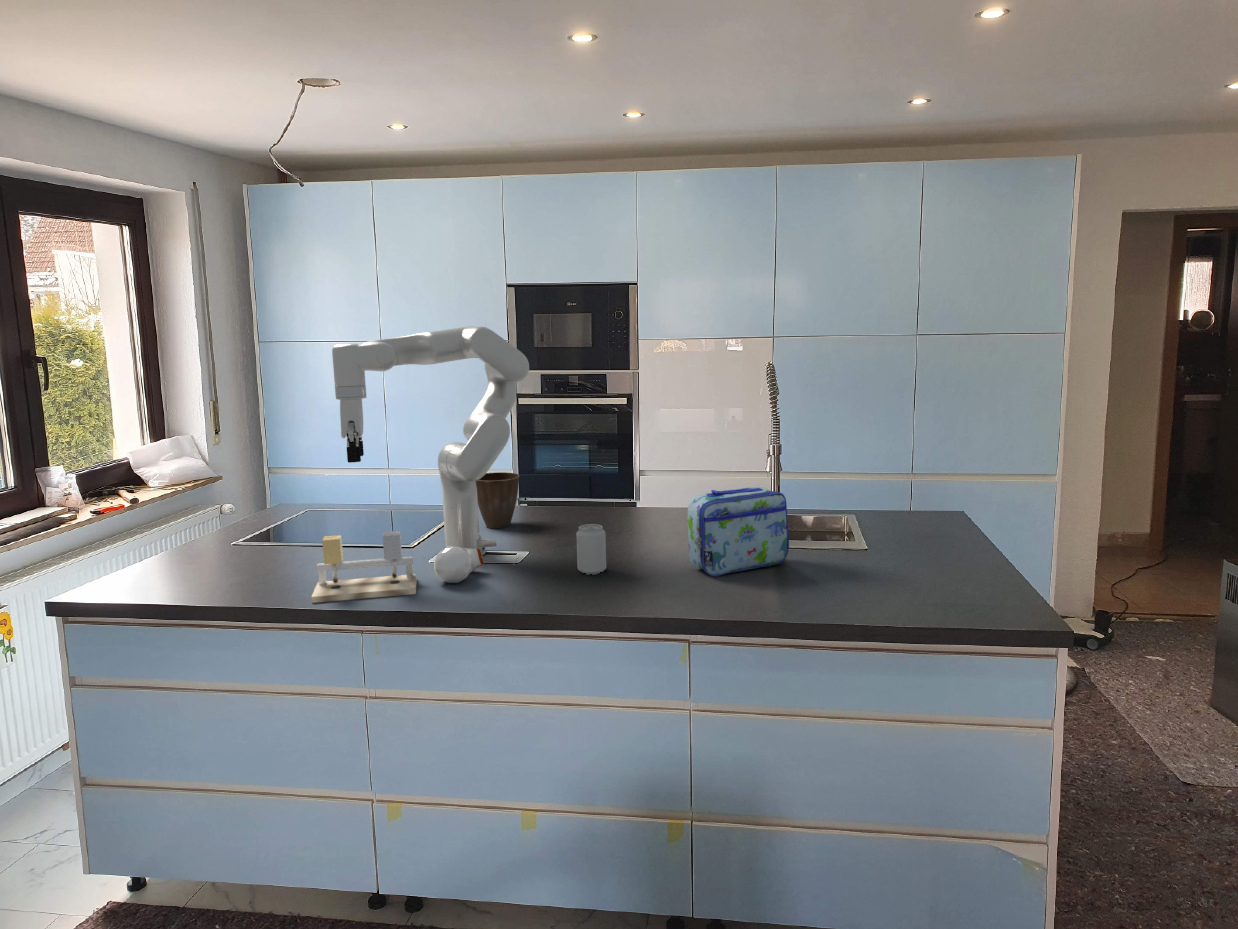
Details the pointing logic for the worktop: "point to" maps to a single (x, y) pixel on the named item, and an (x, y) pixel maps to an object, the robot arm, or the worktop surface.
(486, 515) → the plant pot
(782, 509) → the lunch box
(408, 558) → the trammel frame
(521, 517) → the worktop surface
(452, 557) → the potion bottle
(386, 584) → the hole plate
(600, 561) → the can
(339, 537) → the block
